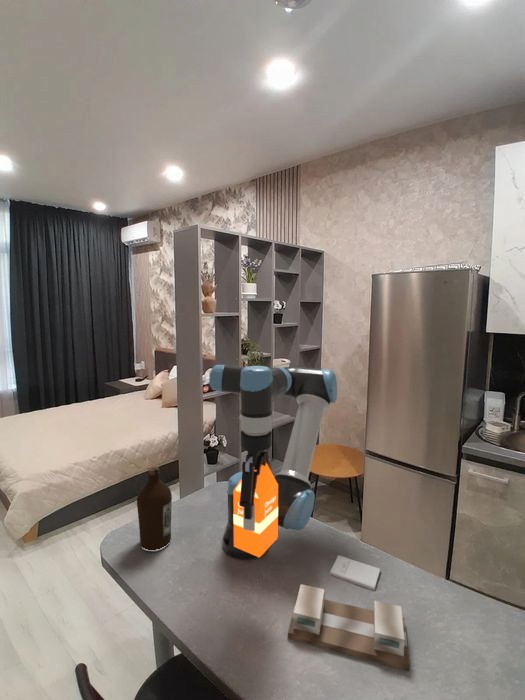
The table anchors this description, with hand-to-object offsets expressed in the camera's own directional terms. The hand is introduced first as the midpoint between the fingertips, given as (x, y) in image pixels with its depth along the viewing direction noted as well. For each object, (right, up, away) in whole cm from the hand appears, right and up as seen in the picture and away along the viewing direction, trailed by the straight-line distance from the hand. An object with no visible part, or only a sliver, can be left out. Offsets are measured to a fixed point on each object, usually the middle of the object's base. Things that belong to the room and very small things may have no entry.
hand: (256, 516), depth 90 cm
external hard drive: (+28, -23, +14) cm, 39 cm away
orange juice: (0, -7, +1) cm, 7 cm away
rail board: (+22, -25, -5) cm, 33 cm away
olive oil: (-33, -21, +27) cm, 47 cm away
